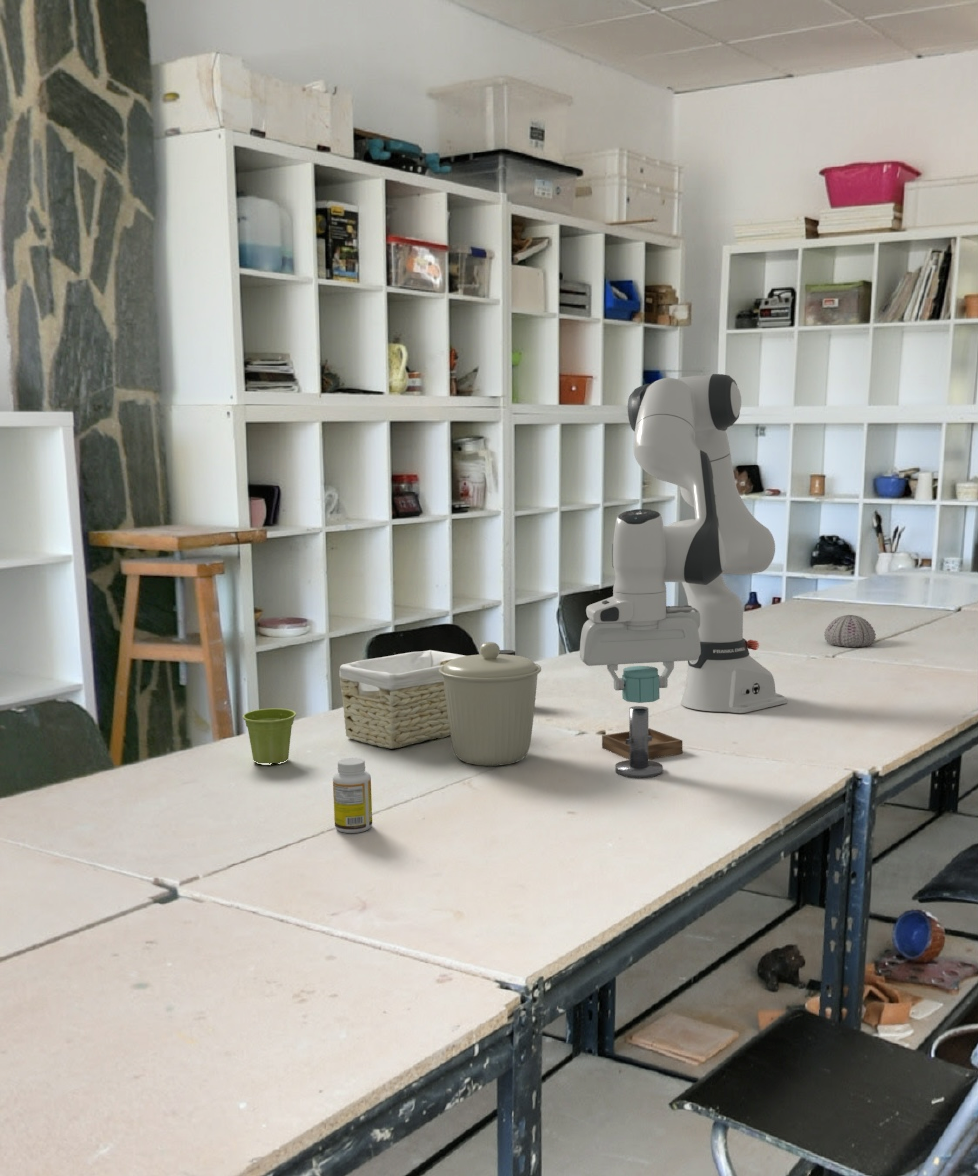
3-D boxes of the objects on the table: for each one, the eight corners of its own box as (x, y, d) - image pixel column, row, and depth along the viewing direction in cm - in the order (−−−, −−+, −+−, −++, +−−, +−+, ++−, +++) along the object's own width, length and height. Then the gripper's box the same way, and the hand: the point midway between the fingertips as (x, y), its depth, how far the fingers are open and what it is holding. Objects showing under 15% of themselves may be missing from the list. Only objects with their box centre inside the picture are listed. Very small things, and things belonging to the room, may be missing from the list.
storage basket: (429, 717, 246) (427, 647, 244) (485, 730, 235) (483, 656, 233) (336, 739, 229) (334, 664, 227) (392, 754, 218) (390, 675, 216)
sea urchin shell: (867, 650, 312) (868, 620, 311) (816, 646, 320) (817, 616, 319) (881, 643, 323) (882, 613, 322) (831, 639, 331) (832, 610, 330)
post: (645, 762, 209) (645, 701, 208) (672, 773, 202) (672, 710, 201) (606, 769, 206) (606, 706, 204) (632, 780, 199) (632, 715, 197)
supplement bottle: (354, 819, 181) (352, 753, 180) (380, 827, 177) (378, 759, 176) (326, 829, 177) (324, 761, 175) (352, 837, 173) (350, 768, 172)
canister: (474, 778, 201) (472, 655, 199) (422, 755, 217) (419, 640, 214) (562, 762, 211) (561, 643, 208) (506, 740, 226) (504, 630, 223)
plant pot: (307, 756, 217) (305, 710, 216) (281, 770, 208) (279, 722, 207) (261, 753, 220) (259, 706, 219) (234, 766, 211) (232, 718, 210)
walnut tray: (649, 740, 224) (649, 728, 224) (682, 753, 215) (682, 740, 215) (602, 748, 220) (602, 735, 219) (633, 761, 210) (633, 748, 210)
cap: (663, 696, 203) (663, 667, 203) (649, 703, 199) (649, 674, 198) (632, 693, 207) (632, 664, 206) (617, 700, 202) (617, 671, 201)
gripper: (694, 602, 205) (695, 681, 207) (577, 607, 202) (578, 687, 204) (705, 607, 199) (706, 689, 201) (584, 613, 196) (585, 695, 198)
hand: (640, 688), depth 202 cm, fingers closed on cap, 6 cm apart
